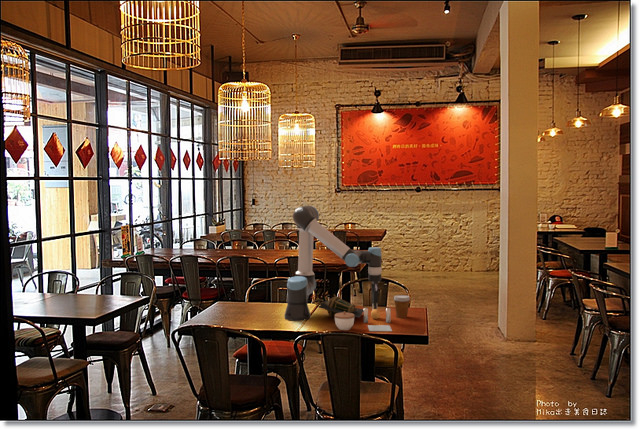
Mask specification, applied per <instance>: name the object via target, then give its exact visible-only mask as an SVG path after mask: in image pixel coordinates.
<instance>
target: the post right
mask: <svg viewBox="0 0 640 430" xmlns="http://www.w3.org/2000/svg"><path fill="white" fill-rule="evenodd" d="M391 311H392V309H391V307H386V308H385V323H386V324H391V323H392V321H391V319H392V318H391V317H392V316H391V314H392V313H391Z"/></svg>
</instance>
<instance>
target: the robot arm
mask: <svg viewBox="0 0 640 430" xmlns="http://www.w3.org/2000/svg"><path fill="white" fill-rule="evenodd" d="M319 219H320V213H319V211H318V209H317V208H316V207H315V206H312V205H304V206H298V207H297V208H296V209H294V210H293V214H292V220H293V221H294V223H295V224H296V226H297V227H296V229H297V230H298V231H299V233H298V234H299V236H298V238H299V239H298V261H297V264H298V265H297V271H295V275H294V276H291V277H290V278H289V277H288V279H287V283H286V291H287V293H286V296H287V297H286V298H287V299H286V300H287V306H286V308H285V312H284V316H283V317H284V319H285V320H288V321H295V322H296V321H298V322H299V321H300V322H301V321H307V320H310V319H311V311H310V309H309V304H308V296H309V295H311V294H312V293H314V292H315V290H316V287H317V280H316V279H315V277H316V275H315V273H314V271H313V263H314V262H313V261H314V238H316V239H317V240H318V241H319V242H321V243H322V245H324V246H326V247H327V248H328V249H329V250H330V251H332V252H333V253H334V254H335V255H336V256H338V257H339V258H340V259H341V260H343V261H344V263H345V265H346V266H347V267H350V268H354V267H355V268H356V267H357V266H358V265H360V264H368V267H367V268H368V269H367V271H368V272H367V273H368V275H367V277H368V278H367V279H368V281H369V282H371V284H370V287H371V304H372V305H371V307H372V310H374V309H377V310H378V303H379V289H380V288H379V287H380V285H379V282H381V281H382V270H383V268H382V257H383V256H382V255H383V254H382V248H381V247H378V246H373V247H370V246H369V247H368V250H356V249H354V250H353V249H351V248H350V247H349V246H348V245H346V244H345V243H344V242H343V241H342V240H341V239H339V238H338V237H336V236H335V235H334V234H333V233H332V232H330V231H329V230H328V229H326V228H325V227H324V226H323V225H322V224H321V223H319V222H318V221H319ZM372 310H371V311H372Z"/></svg>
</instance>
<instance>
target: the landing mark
mask: <svg viewBox="0 0 640 430" xmlns="http://www.w3.org/2000/svg"><path fill="white" fill-rule="evenodd" d="M367 329H368V331H369V332H393V330H392V327H391V326H390V324H386V325H385V324H382V325H381V324H379V325H377V324H376V325H374V324H373V325H372V324H370V325H369V324H368V325H367Z"/></svg>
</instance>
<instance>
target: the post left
mask: <svg viewBox="0 0 640 430" xmlns="http://www.w3.org/2000/svg"><path fill="white" fill-rule="evenodd" d="M363 310H364V312H363V324H369V307H363Z"/></svg>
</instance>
